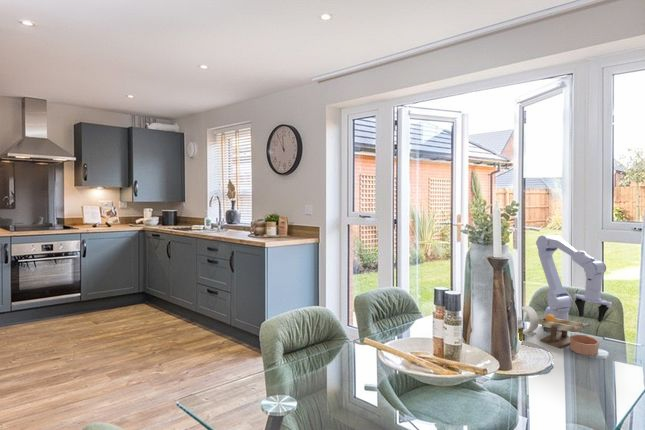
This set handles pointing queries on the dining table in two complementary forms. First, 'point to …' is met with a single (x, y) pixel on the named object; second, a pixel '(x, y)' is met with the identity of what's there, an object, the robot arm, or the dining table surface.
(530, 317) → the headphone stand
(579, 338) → the cup
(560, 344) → the lever stand
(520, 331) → the pill bottle
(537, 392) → the dining table surface
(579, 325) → the beige curved piece
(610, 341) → the dining table surface
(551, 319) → the ball
